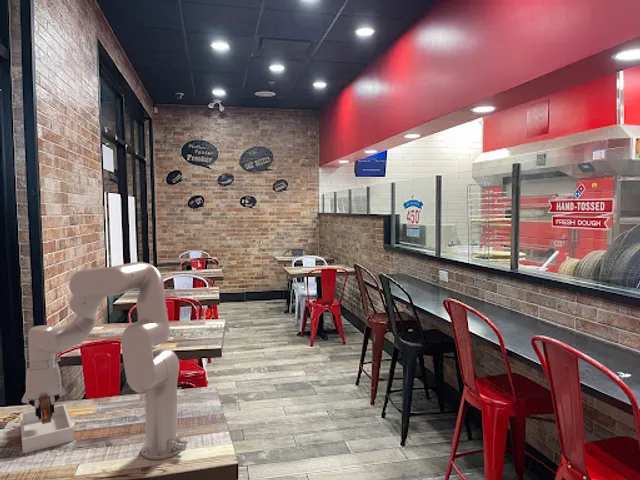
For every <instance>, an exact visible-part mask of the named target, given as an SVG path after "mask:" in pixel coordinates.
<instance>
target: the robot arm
mask: <svg viewBox="0 0 640 480" xmlns="http://www.w3.org/2000/svg"><path fill="white" fill-rule="evenodd" d="M163 278H164V277H163V276H162V273H161V272H160V271H159V269H157V267H155V266H154V265H152V264H151V263H147V262H144V261H135V262H129V263H128V262H127V263H123V264H120V265H119V264H118V265H113V266H109V267H106V266H98V267H92V268H87V269H81V270H79V271H76V272H75V273H74V274H73V275H72V276H71V278H70V280H69V285H68V287H69V291H70V293H71V294H72V297H71V299H70V300H69V303H68V304H69V308H70V310H71V312H73V314H75V315H76V316H75V317H74V319H73V320H72V322H71V323H68V324H65V325H63V326H62V325H61V326H59V327H56V328H54V326H52V325H48V324H45V325H44V324H43V325H35V326H33V327H31V328H29V330H28V333H27V335H28V336H27V338H28V359H29V367H28V368H26V374H25V393H24V394H23V397H22V398H21V403H22V404H29V405H30V406H32V407H34V409H35V412H36V417H37V416H38V419H41V407H40V404H39V398H43V397H47V396H48V398H49V404H50V414H51V417H52V413H54V406H55V404H56V403H57V401H58V400H59V399H60V398H61V397H63V396H65V395H66V394H67V391H66V389H65V388H64V387H63V385H62V379H61V377H62V376H61V372H60V367H59V363H58V362H60V361H62V359H61V356H56V354H57V353H60V352H62V351H65V350H68V349H70V348H72V347H74V346H77V345H80V344H82V343H83V342H84V341H85V340H86V339H87V338H88V337H89V336H90V333H91V332H92V330H94V328H95V325H96V323H97V312H98V309H100V307H101V306H102V304H103V302H104V301H105V300H106V298H107V297H112V296H119V295H122V294H125V293H128V292H132V291H135V290H136V291H138V295H137V298H136V311H137V321H135V322H133V323H131V324H129V325H128V326H127V327H126V328H125V329H124V331H123V332H122V334H121V339H120V344H121V353H122V359H123V367H124V374H125V378H126V380H127V384H128V386H129V387H130V388H131V390H133V391H134V392H137V393H140V394H141V393H143V394H144V415H145V418H144V419H145V421H144V422H145V443H144V444H142V446H141V448H140V454H141V456H142V457H143V458H145V459H148V460H156V461H158V460H163V459H164V460H165V459H168V458H171V457H174V456H176V455H178V454H179V453H181V451H182V452H185V450H186V449H187V444H188V441H187V440H186V439H185V440H184V439H182V435H181V433H179V427H178V426H179V424H178V423H179V422H178V418H179V417H178V379H179V372H180V362H179V361H180V360H179V357H178V355H177V354H176V353H175V352H174V351H173V350H171V349H169V348H160V349H157V348H159V347H161V346H162V345H164V344H165V343H167V342H168V340H170V335H171V332H170V324H169V323H170V322H169V315H168V310H167V303H166V296H165V294H166V293H165V283H164V279H163ZM155 349H157V350H155ZM153 350H154V351H153Z"/></svg>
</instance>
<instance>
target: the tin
mask: <svg viewBox="0 0 640 480" xmlns="http://www.w3.org/2000/svg"><path fill="white" fill-rule="evenodd" d="M49 402H50V397H48V396H47V397H43V398H39V404H40V407H41V422H42V424H46V423H49V422H50V423H51V414H50V404H49Z"/></svg>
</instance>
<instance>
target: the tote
mask: <svg viewBox="0 0 640 480" xmlns="http://www.w3.org/2000/svg"><path fill="white" fill-rule="evenodd" d="M19 424H20V437H21V447H22V448H21V449H22V454H27V453H30V452H31V453H32V452H34V451H38V450H43V449H47V448H50V447H54V446H59V445H62V444H66V443H70V442H74V441H75V440H74V426H73V423H72V420H71V418H70V414H69V410H68V408H67V405H66V404H65V403H63V404H58V405H54V413H52V417H51V423H50V422H49V423H46V424H42V422H41V419H38V416H37V417H36V412H35V410H31V411H25V412H21V413H19Z"/></svg>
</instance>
